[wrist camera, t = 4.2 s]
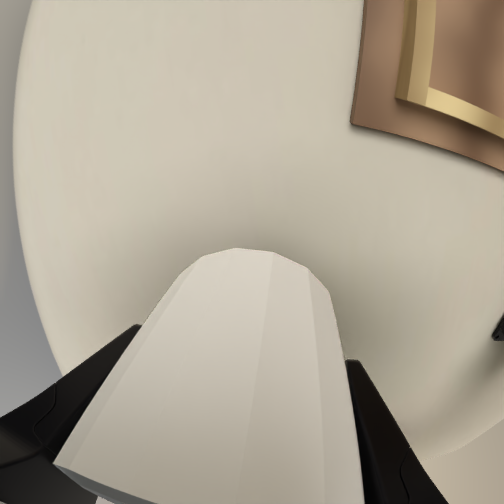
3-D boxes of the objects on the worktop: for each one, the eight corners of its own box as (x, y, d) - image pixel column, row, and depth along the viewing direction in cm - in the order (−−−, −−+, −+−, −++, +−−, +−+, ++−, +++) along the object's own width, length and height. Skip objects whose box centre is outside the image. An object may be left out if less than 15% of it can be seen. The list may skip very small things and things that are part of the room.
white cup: (127, 238, 9) (-10, 425, 3) (357, 219, 8) (418, 521, 2) (188, 372, 12) (140, 515, 7) (347, 374, 11) (347, 541, 5)
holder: (556, 5, 5) (580, 5, 2) (538, 186, 14) (561, 203, 11) (365, -97, 6) (374, -119, 4) (349, 121, 15) (360, 130, 12)
